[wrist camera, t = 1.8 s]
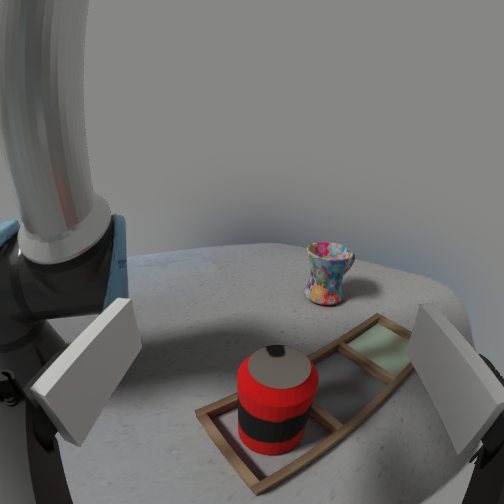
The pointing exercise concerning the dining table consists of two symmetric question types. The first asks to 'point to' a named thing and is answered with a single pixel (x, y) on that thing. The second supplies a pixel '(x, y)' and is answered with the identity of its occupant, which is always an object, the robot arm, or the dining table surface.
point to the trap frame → (334, 391)
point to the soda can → (275, 398)
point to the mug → (327, 272)
